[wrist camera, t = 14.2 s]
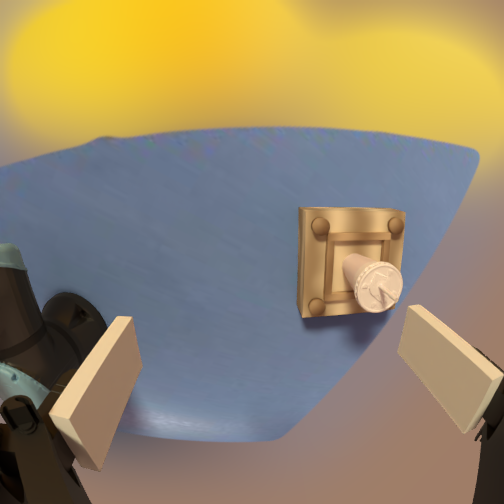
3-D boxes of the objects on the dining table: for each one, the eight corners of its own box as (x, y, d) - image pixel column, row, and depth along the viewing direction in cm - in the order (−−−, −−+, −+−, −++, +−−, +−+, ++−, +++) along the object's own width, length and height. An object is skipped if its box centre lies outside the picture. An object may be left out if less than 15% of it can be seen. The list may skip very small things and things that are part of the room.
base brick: (296, 304, 48) (303, 321, 42) (298, 207, 44) (307, 212, 38) (382, 297, 49) (397, 312, 43) (390, 208, 45) (409, 213, 39)
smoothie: (365, 237, 40) (415, 265, 27) (377, 274, 42) (425, 312, 29) (326, 256, 41) (364, 293, 27) (341, 292, 43) (379, 340, 29)
